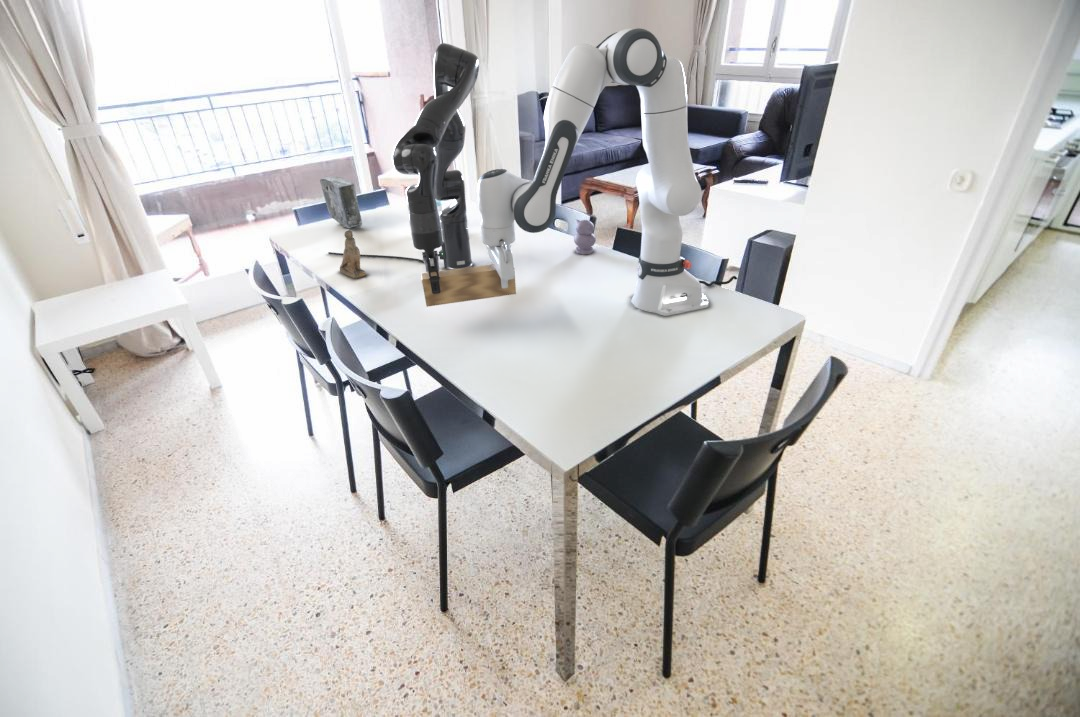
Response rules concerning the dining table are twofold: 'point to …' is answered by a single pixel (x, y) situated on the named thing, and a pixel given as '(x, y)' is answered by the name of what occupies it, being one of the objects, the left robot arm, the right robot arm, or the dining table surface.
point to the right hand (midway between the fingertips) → (502, 283)
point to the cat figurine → (584, 236)
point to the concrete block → (341, 201)
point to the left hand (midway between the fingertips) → (435, 287)
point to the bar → (466, 285)
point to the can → (439, 207)
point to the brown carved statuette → (351, 258)
